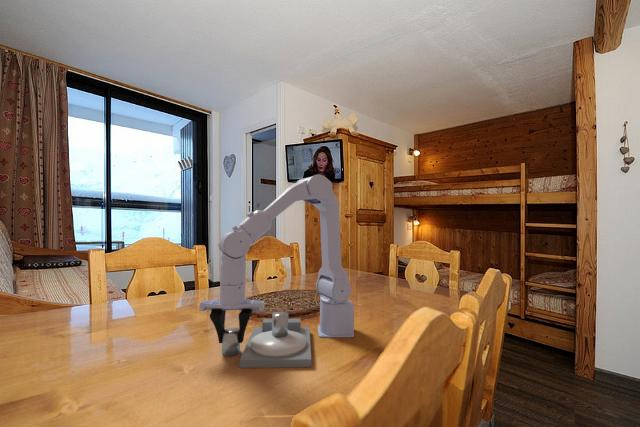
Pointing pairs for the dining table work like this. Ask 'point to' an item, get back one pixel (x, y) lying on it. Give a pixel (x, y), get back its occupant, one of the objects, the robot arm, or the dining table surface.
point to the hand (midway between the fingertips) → (231, 341)
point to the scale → (277, 347)
